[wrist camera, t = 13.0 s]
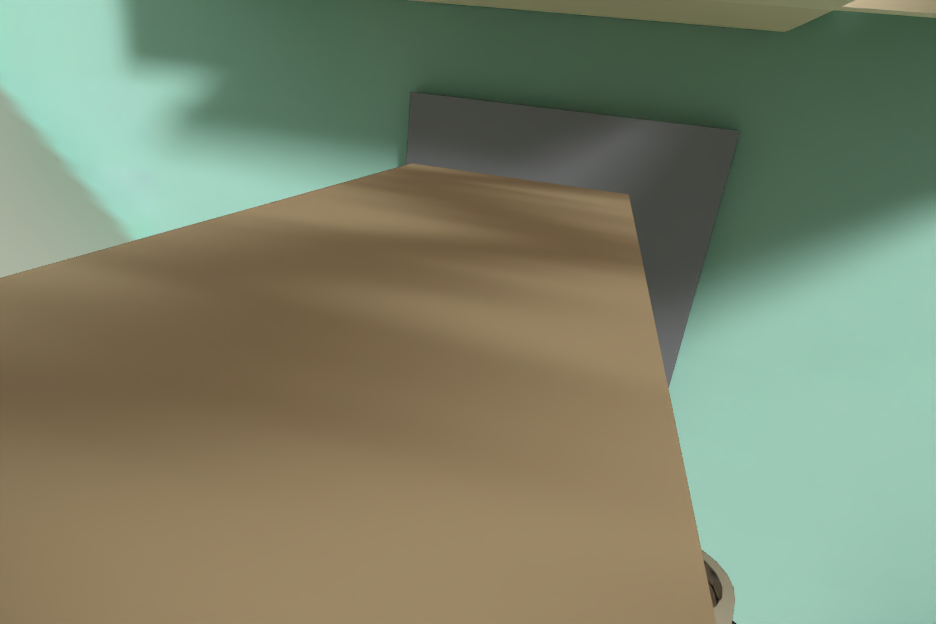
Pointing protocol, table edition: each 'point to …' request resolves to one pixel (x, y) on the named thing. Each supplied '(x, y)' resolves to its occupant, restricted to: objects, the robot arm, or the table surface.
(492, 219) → the walnut box
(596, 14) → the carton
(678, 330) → the rubber mat
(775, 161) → the table surface
